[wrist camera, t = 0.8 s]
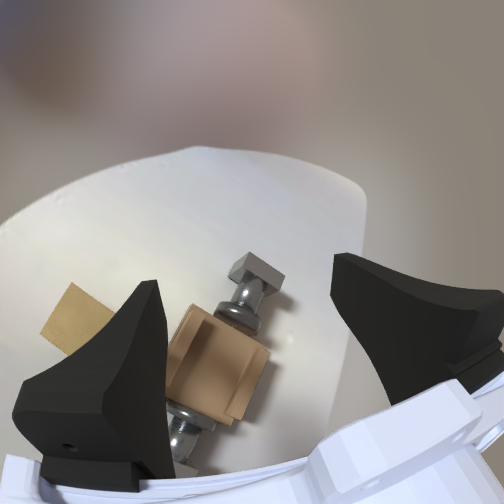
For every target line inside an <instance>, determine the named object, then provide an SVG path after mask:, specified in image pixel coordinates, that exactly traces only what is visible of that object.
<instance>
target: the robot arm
mask: <svg viewBox="0 0 504 504" xmlns="http://www.w3.org/2000/svg"><path fill="white" fill-rule="evenodd" d="M330 296H331V298H332V300H333V302H334V305H335V307H336V308H337V310H338V312H339V314H340V316H341V317H342V318H343V320H344V321H345V323H346V324H347V326H348V327H349V328H350V330H351V331H352V333H353V334H354V335H355V337H356V338H357V340H358V341H359V342H360V344H361V345H362V347H363V348H364V350H365V351H366V353H367V355H368V356H369V358H370V360H371V362H372V364H373V366H374V367H375V369H376V371H377V373H378V375H379V377H380V380H381V382H382V384H383V386H384V389H385V391H386V393H387V396H388V398H389V401H390V403H391V407H388V408H386V409H384V410H381V411H378V412H376V413H374V414H371V415H368V416H366V417H363V418H360V419H358V420H356V421H354V422H352V423H350V424H348V425H345V426H343V427H341V428H339V429H337V430H336V431H334V432H333V433H331V434H330V435H328V436H327V437H325V438H324V439H322V440H321V441H320V442H319V443H318V444H317V445H316V447H315V448H314V449H313V451H312V452H311V453H310V455H309V456H307V457H303V458H299V459H296V460H292V461H288V462H284V463H280V464H275V465H271V466H266V467H261V468H256V469H251V470H245V471H240V472H233V473H227V474H220V475H212V476H203V477H193V478H179V479H176V474H175V469H174V464H173V458H172V452H171V445H170V439H169V431H168V422H167V412H166V400H165V385H166V367H167V352H168V331H167V320H166V316H165V312H164V308H163V304H162V300H161V296H160V291H159V287H158V283H157V279H156V280H149V281H142V282H141V283H140V284H139V285H138V286H137V288H136V289H135V290H134V292H133V293H132V294H131V296H130V297H129V298H128V299H127V301H126V302H125V303H124V304H123V306H122V307H121V308H120V309H119V310H118V312H117V313H116V314H115V315H114V316H113V317H112V318H111V319H110V321H109V322H108V323H107V324H106V325H105V326H104V327H103V328H102V329H101V330H100V331H99V332H98V333H97V334H96V335H95V336H94V337H92V338H91V339H90V340H89V341H88V342H87V343H85V344H84V345H83V346H81V347H80V348H79V349H78V350H76V351H75V352H74V353H72V354H71V355H70V356H68V357H67V358H65V359H64V360H62V361H61V362H59V363H58V364H56V365H54V366H53V367H51V368H49V369H47V370H46V371H44V372H42V373H40V374H38V375H36V376H34V377H32V378H30V379H27V380H25V381H23V384H22V386H21V389H20V392H19V395H18V397H17V400H16V403H15V406H14V409H13V412H12V419H13V421H14V423H15V425H16V427H17V429H18V430H19V431H20V432H21V434H22V435H23V436H24V437H25V438H26V439H27V440H28V441H29V442H30V443H31V444H32V445H33V446H34V447H35V448H36V449H38V450H39V451H40V452H41V453H42V454H43V460H42V463H40V462H38V461H36V460H34V459H30V458H25V457H21V456H16V455H12V454H7V455H6V460H5V464H4V469H3V474H2V479H1V485H0V504H504V489H503V488H502V486H501V485H500V483H499V481H498V480H497V478H496V477H495V475H494V474H493V473H492V471H491V469H490V468H489V466H488V465H487V464H486V462H485V461H484V459H483V458H482V456H481V455H480V453H482V452H483V451H484V450H485V449H486V448H487V447H488V446H489V445H491V444H492V443H493V442H494V441H495V440H496V439H498V438H499V437H500V436H501V435H502V434H503V433H504V353H503V352H502V351H501V350H500V348H501V347H502V343H501V342H500V341H499V340H498V337H499V335H500V333H501V331H502V329H503V327H504V294H503V293H502V292H501V291H499V290H476V289H466V288H457V287H451V286H445V285H440V284H436V283H431V282H428V281H424V280H421V279H417V278H414V277H411V276H408V275H405V274H402V273H399V272H397V271H394V270H392V269H389V268H386V267H384V266H381V265H379V264H377V263H374V262H372V261H369V260H367V259H365V258H362V257H359V256H357V255H354V254H350V253H341V254H334V262H333V273H332V283H331V292H330Z"/></svg>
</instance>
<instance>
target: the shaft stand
mask: <svg viewBox="0 0 504 504" xmlns="http://www.w3.org/2000/svg"><path fill="white" fill-rule="evenodd" d="M228 277H229V278H231V279H232V280H234V281H235V282H237V283H238V284H239V285H238V287H237V289H236V291H235V293H234V295H233V297H232V299H231V301H230V302H220V303H219V304H218V306H217V308H216V310H215V312H214V314H213V316H212V315H211V314H209V313H207V312H206V311H204V310H202V309H201V308H199V307H198V306H196V305H194V304H192V305H190V306H189V308H188V310H187V312H186V314H185V315H184V317H183V319H182V321H181V323H180V325H179V326H178V328H177V330H176V332H175V334H174V336H173V338H172V339H171V341H170V343H169V345H168V352H167V367H166V385H165V397H167V398H169V399H170V401H169V403H168V405H167V407H166V411H167V412H169V413H171V414H173V415H174V417H173V419H172V421H171V423H170V425H169V427H168V431H169V439H170V445H171V452H172V458H173V464H174V469H175V474H176V479H179V478H193V477H196V476H197V474H198V472H199V470H198V469H197V468H196V467H195V466H194V465H193V464H192V463H191V462H190V461H189V460H188V459H189V457H190V455H191V453H192V451H193V448H194V446H195V444H196V442H197V440H198V438H199V436H200V434H201V432H202V430H203V429H205V430H207V431H210V432H213V431H214V429H215V427H216V425H217V423H218V421H219V422H221V423H223V424H226V425H228V426H231V424H232V422H233V420H234V418H235V419H238V420H241V419H242V417H243V414H244V412H245V410H246V408H247V405H248V403H249V401H250V399H251V396H252V394H253V392H254V389H255V387H256V385H257V382H258V380H259V378H260V375H261V373H262V370H263V368H264V366H265V363H266V361H267V358H268V356H269V353H270V352H268V351H266V350H265V346H264V345H262V344H261V343H259V342H257V341H255V340H253V339H252V338H250V337H248V336H256V335H257V334H258V331H259V329H260V327H261V324H262V321H261V319H260V317H259V316H258V315H257V314H256V312H257V310H258V307H259V305H260V303H261V301H262V298H264V297H266V296H269V295H271V294H273V293H275V292H277V291H279V290H280V288H281V285H282V283H283V280H284V278H285V275H283V274H282V273H280V272H279V271H277V270H276V269H274V268H273V267H272V266H270V265H269V264H267V263H266V262H264V261H263V260H261V259H260V258H258V257H257V256H255V255H254V254H252V253H251V252H248V253H247V254H246V255H244V256H243V257H242V258H241V259H239V260H238V261H237V262H236V263H234V265H233V267H232V269H231V271H230V273H229V275H228Z"/></svg>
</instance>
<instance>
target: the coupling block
mask: <svg viewBox="0 0 504 504" xmlns="http://www.w3.org/2000/svg"><path fill="white" fill-rule="evenodd" d="M115 314H116V313H114V312H113V311H112V310H110V309H109V308H107V307H106V306H104V305H103V304H101V303H100V302H99V301H97V300H96V299H94V298H93V297H91V296H90V295H89V294H87V293H86V292H85V291H83V290H82V289H81V288H79V287H78V286H76V285H75V284H74V283H71V284H70V286H69V287H68V289H67V290H66V292H65V293H64V295H63V296H62V298H61V299H60V301H59V303H58V304H57V306H56V307H55V309H54V311H53V312H52V314H51V315H50V317H49V319H48V320H47V322H46V324H45V326H44V327H43V329H42V331H41V332H40V334H41V335H42V336H43V337H44V338H46V339H47V340H48V341H49V342H51V343H52V344H53V345H55V346H56V347H57V348H59V349H60V350H62V351H63V352H64V353H66V354H67V355H68V356H70V355H71V354H72V353H74V352H75V351H76V350H78V349H79V348H80V347H81V346H83V345H84V344H85V343H87V342H88V341H89V340H90V339H91V338H92V337H94V336H95V335H96V334H97V333H98V332H99V331H100V330H101V329H102V328H103V327H104V326H105V325H106V324H107V323H108V322H109V321H110V319H111V318H112V317H113V316H114V315H115Z"/></svg>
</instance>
